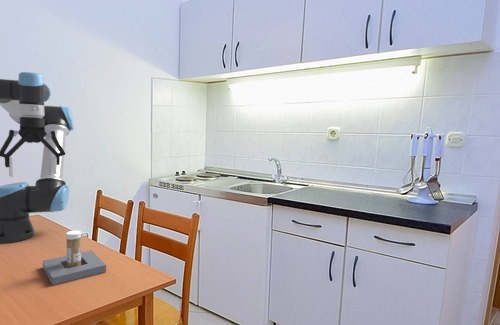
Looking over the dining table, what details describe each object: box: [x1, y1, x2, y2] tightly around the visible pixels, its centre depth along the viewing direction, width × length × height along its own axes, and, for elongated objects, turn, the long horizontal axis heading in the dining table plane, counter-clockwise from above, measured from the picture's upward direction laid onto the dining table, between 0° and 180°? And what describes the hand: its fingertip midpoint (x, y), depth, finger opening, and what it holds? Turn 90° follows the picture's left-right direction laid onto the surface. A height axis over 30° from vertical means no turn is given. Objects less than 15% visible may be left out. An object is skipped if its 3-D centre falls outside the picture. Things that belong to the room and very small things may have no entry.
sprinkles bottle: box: [65, 230, 82, 269], centre depth 111 cm, size 5×5×13 cm
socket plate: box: [42, 250, 107, 286], centre depth 112 cm, size 16×16×2 cm
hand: (33, 175), depth 119 cm, fingers open, 13 cm apart
